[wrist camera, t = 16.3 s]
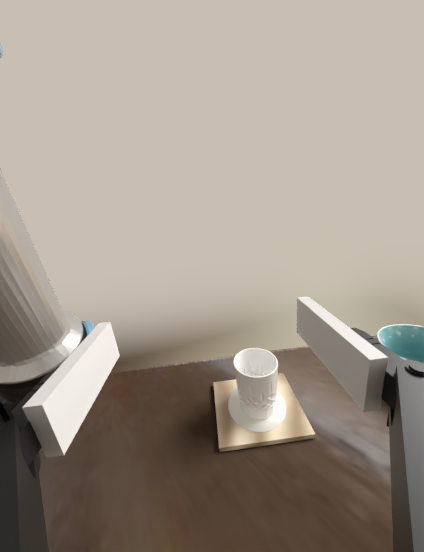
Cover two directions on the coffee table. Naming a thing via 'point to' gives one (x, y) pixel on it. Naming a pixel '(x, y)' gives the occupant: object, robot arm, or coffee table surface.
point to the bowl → (404, 340)
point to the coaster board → (251, 432)
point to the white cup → (256, 382)
